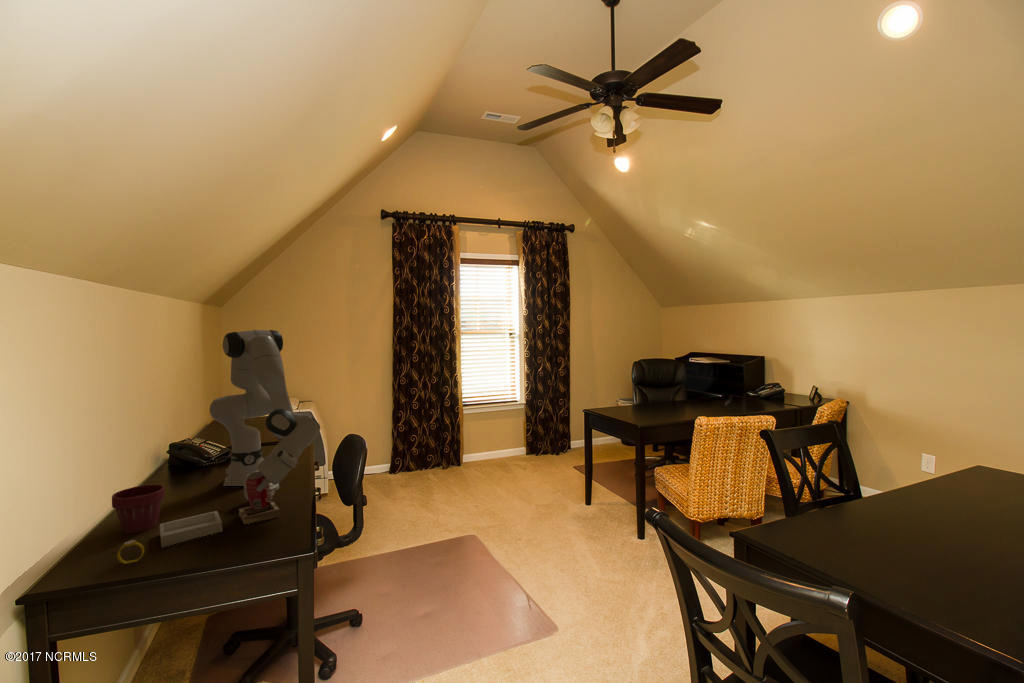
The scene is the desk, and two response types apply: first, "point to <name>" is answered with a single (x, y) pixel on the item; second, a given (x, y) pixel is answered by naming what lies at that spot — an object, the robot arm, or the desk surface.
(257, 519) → the can holder
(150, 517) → the plant pot
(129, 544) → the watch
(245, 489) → the mechanical part
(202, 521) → the tray
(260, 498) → the soda can
